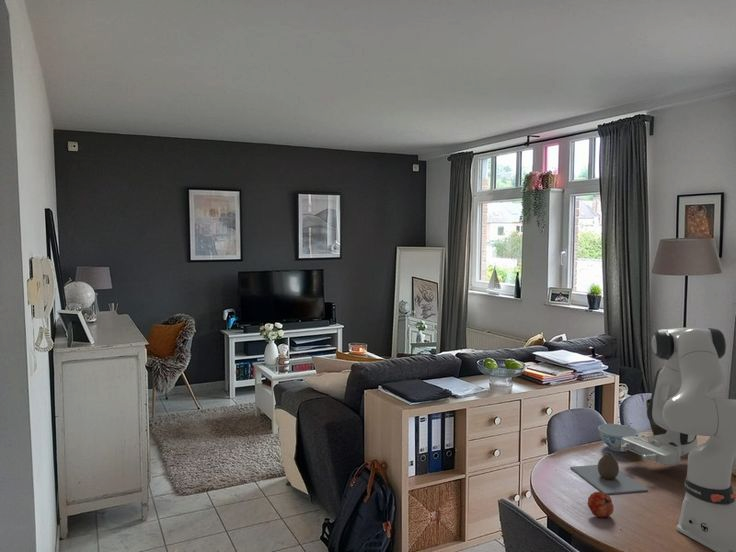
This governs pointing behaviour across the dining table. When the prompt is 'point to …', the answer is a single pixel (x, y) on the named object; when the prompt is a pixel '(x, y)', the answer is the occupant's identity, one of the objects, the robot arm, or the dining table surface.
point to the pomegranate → (600, 504)
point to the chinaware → (615, 435)
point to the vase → (608, 467)
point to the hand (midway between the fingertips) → (632, 453)
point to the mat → (609, 481)
